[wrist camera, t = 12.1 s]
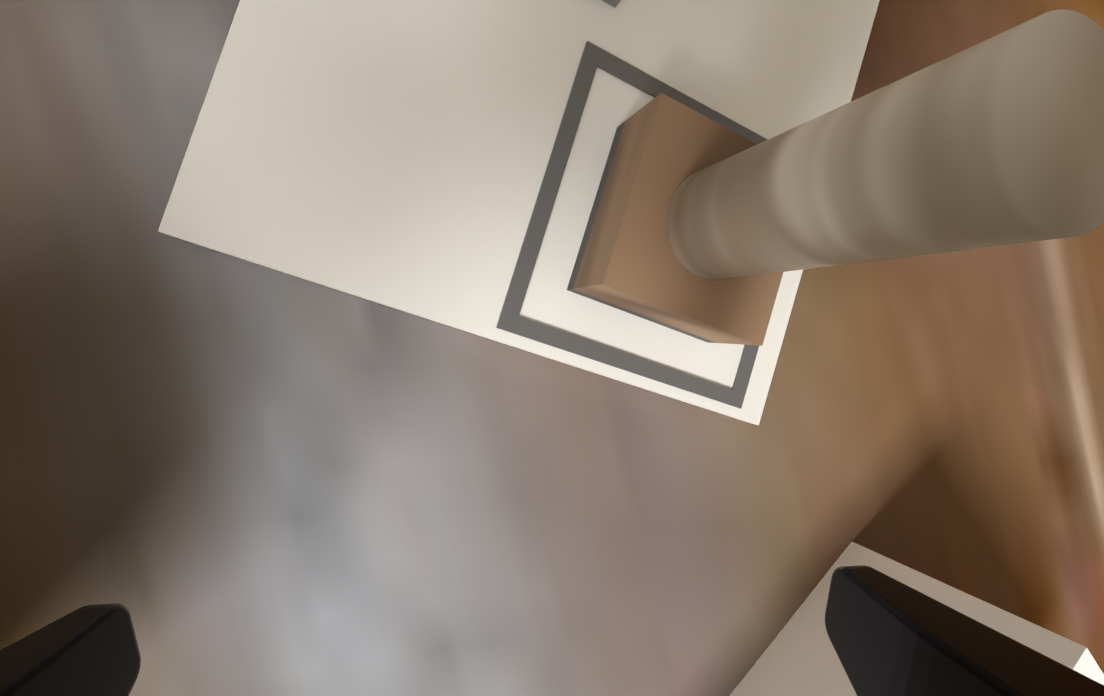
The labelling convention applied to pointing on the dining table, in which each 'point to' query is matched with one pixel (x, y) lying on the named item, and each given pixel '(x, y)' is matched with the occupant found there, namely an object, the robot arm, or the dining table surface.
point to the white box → (815, 669)
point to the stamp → (850, 182)
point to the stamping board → (493, 156)
